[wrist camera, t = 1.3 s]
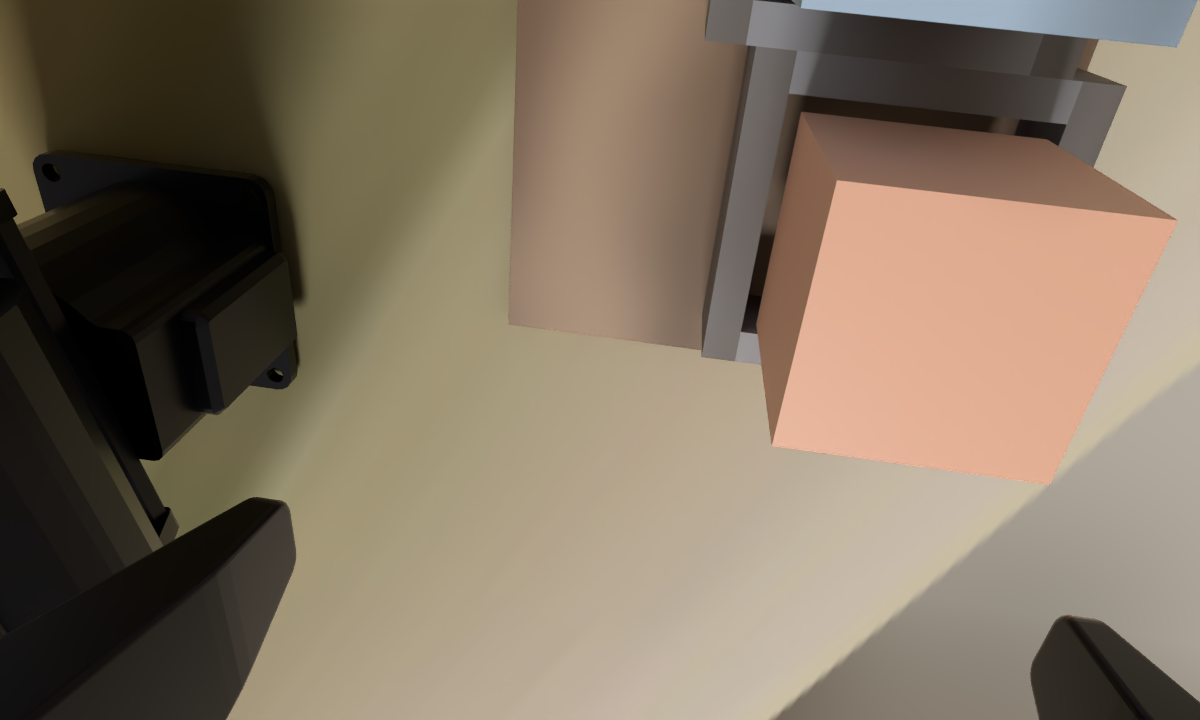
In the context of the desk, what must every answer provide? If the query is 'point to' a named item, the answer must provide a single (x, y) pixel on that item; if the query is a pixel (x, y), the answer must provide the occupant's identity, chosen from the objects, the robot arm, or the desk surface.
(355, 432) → the desk surface
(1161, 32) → the pale blue cube
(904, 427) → the peach cube
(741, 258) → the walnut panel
